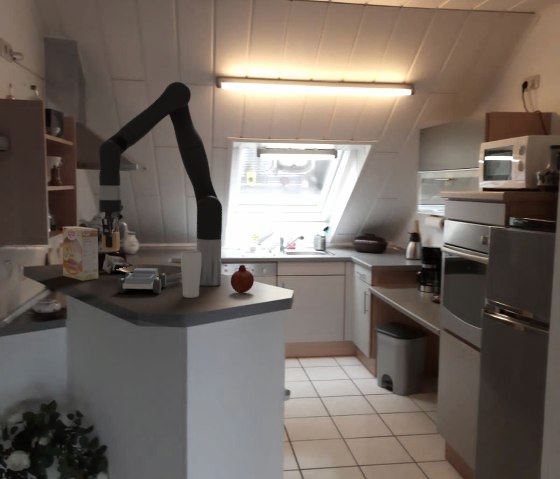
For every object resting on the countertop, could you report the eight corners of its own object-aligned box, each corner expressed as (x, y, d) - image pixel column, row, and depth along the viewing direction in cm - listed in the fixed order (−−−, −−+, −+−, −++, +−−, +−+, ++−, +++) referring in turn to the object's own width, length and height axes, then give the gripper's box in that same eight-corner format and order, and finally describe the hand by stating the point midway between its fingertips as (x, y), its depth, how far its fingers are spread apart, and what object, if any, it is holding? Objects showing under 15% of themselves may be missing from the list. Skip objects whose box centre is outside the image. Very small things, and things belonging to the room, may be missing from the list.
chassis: (166, 285, 196) (166, 268, 195) (158, 294, 180) (158, 275, 179) (127, 285, 195) (127, 267, 195) (116, 294, 179) (116, 275, 179)
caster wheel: (135, 278, 223) (113, 277, 216) (122, 269, 230) (101, 268, 223) (139, 263, 222) (117, 262, 215) (126, 255, 230) (104, 253, 222)
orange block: (120, 248, 192) (119, 231, 192) (116, 250, 187) (116, 233, 187) (105, 248, 192) (105, 231, 191) (102, 250, 187) (101, 233, 186)
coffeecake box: (62, 275, 211) (61, 226, 209) (79, 273, 217) (78, 226, 215) (81, 280, 202) (81, 229, 200) (99, 278, 207) (98, 228, 205)
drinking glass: (191, 299, 174) (192, 254, 173) (176, 296, 178) (176, 252, 176) (205, 296, 180) (205, 252, 178) (190, 293, 183) (190, 250, 182)
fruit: (248, 296, 181) (248, 267, 180) (226, 294, 184) (227, 265, 183) (257, 292, 189) (257, 264, 188) (236, 290, 192) (236, 262, 191)
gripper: (115, 199, 181) (116, 249, 183) (125, 198, 195) (126, 244, 197) (93, 199, 180) (94, 249, 182) (104, 198, 195) (105, 244, 196)
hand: (111, 246), depth 189 cm, fingers closed on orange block, 5 cm apart
